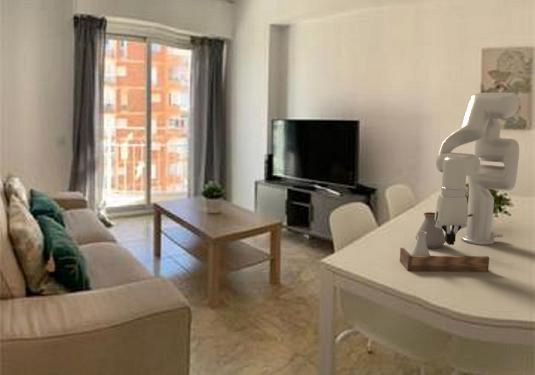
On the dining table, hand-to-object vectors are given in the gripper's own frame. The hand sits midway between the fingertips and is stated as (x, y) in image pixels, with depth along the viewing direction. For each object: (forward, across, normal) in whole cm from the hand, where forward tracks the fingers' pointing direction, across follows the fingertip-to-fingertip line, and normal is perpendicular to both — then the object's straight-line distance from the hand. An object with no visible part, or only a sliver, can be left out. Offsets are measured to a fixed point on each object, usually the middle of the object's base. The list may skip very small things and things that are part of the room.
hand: (449, 243), depth 164 cm
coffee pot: (+8, -5, -19) cm, 21 cm away
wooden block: (+7, +3, +3) cm, 8 cm away
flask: (+5, +11, +3) cm, 12 cm away
